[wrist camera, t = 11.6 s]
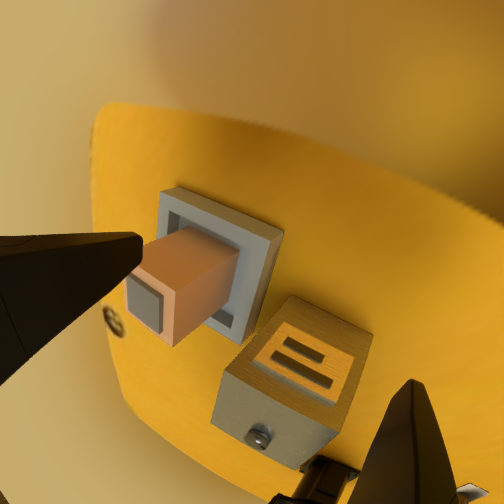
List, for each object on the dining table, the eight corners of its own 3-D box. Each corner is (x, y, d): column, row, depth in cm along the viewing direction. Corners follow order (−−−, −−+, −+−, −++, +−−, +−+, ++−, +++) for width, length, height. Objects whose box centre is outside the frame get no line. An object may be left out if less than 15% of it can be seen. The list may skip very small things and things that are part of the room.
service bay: (253, 331, 25) (240, 345, 23) (169, 281, 28) (154, 290, 27) (284, 231, 20) (270, 241, 18) (179, 186, 23) (160, 191, 22)
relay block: (228, 301, 24) (168, 350, 18) (184, 275, 26) (121, 312, 20) (240, 250, 21) (170, 294, 16) (189, 225, 23) (117, 256, 17)
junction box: (334, 391, 23) (288, 477, 15) (267, 356, 25) (205, 430, 17) (376, 330, 19) (340, 437, 11) (293, 289, 21) (218, 372, 14)
